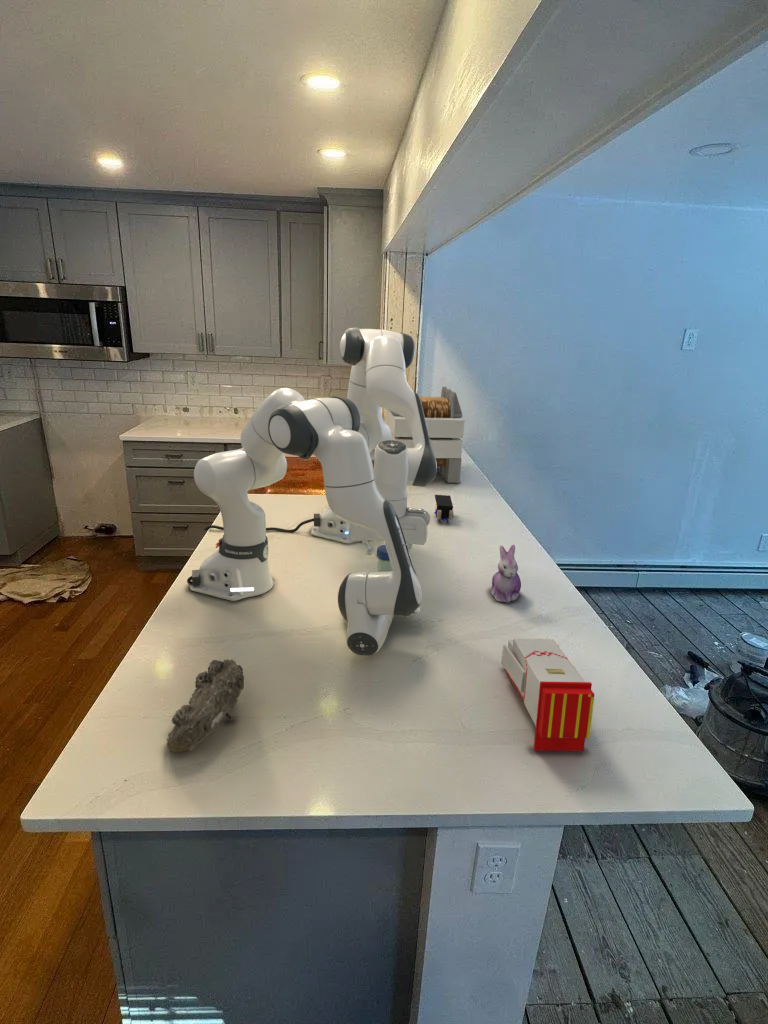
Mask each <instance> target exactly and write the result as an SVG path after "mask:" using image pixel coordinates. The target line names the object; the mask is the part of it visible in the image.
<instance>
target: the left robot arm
mask: <svg viewBox="0 0 768 1024" xmlns="http://www.w3.org/2000/svg"><path fill="white" fill-rule="evenodd" d="M359 428H360V414H359V411H358V409H357V407H356V405H355V404H354V403H353V402H352V401H351V400H349V399H347V397H344V396H328V397H317V398H310V399H305V398H304V396H303V395H302V394H301V393H299V391H297V390H295V389H293V388H289V387H281V388H277V389H275V390H274V391H273V392H271V393H270V394H269V395H268V396H267V397H266V398H265V399H264V400H262V402H261V403H260V404H259V406H257V408H256V410H255V411H254V412H253V413H252V415H251V417H250V418H249V420H248V421H247V423H246V424H245V426H244V427H243V429H242V431H241V432H240V446H241V448H237V449H232V450H227V451H220V452H215V453H213V454H210V455H207V456H205V457H203V458H201V459H199V460H198V461H197V462H196V464H195V466H194V470H193V479H194V483H195V485H196V487H197V489H198V490H199V491H200V492H201V493H202V494H203V495H205V496H207V497H208V498H210V499H211V500H212V501H214V503H215V504H216V505H217V507H218V509H219V512H220V514H221V519H222V527H223V528H224V530H223V535H222V537H221V538H220V539H218V542H216V543H215V548H216V549H217V548H218V550H216V551H215V552H213V553H212V554H211V555H210V556H208V557H207V558H205V559H204V560H203V562H201V564H200V566H199V569H192V570H191V575H190V576H188V578H187V579H186V583H187V584H188V585H189V589H190V591H193V592H195V593H196V592H197V593H200V594H204V595H208V596H212V597H216V598H220V599H223V600H228V601H231V602H237V601H240V600H243V599H245V598H246V599H247V598H251V597H257V596H260V595H263V594H265V593H267V592H269V591H270V590H271V589H272V588H273V586H274V580H273V578H272V574H271V571H270V565H269V559H268V558H269V541H268V540H269V539H268V536H267V531H266V528H267V526H266V525H267V523H266V522H267V521H266V520H267V519H266V512H265V510H264V509H263V507H262V506H261V505H259V504H257V503H255V502H253V501H250V499H249V495H248V493H249V491H253V490H258V489H261V488H265V487H268V486H271V485H273V484H275V483H277V482H279V481H281V480H282V479H284V478H285V476H286V475H287V470H288V462H287V461H288V460H287V458H286V456H285V455H291V456H296V457H298V458H300V459H303V460H309V459H310V458H311V457H312V456H314V457H316V458H317V459H318V461H319V463H320V465H321V469H322V479H323V485H324V493H325V498H326V502H327V505H328V508H330V509H331V511H332V512H333V513H334V514H335V515H336V516H338V517H339V518H340V519H342V520H344V521H346V522H348V523H351V524H354V525H358V526H361V527H364V528H367V529H369V530H371V531H373V532H375V533H377V534H378V535H379V536H380V537H381V538H382V539H383V541H382V542H384V545H385V546H386V549H387V552H388V556H389V559H390V562H391V565H392V569H393V571H390V572H378V571H361V572H360V571H357V572H349V573H348V574H346V576H345V577H344V578H343V580H342V581H341V583H340V585H339V587H338V591H337V604H338V609H339V612H340V615H341V616H342V618H343V619H344V621H345V622H346V623H347V631H346V635H345V636H346V637H345V642H346V646H347V648H348V649H349V651H351V652H352V653H353V654H355V655H356V656H362V657H370V656H374V655H375V654H377V653H378V652H379V651H380V650H381V648H382V647H383V645H384V643H385V642H386V640H387V636H388V634H389V630H390V627H391V625H392V621H393V619H394V616H399V617H415V616H418V615H419V614H420V611H421V606H422V599H423V598H422V597H423V596H422V595H423V593H422V586H421V583H420V581H419V578H418V575H417V573H416V570H415V568H414V565H413V562H412V559H411V555H410V551H409V552H408V547H407V544H406V541H405V538H404V535H403V531H402V528H401V525H400V522H399V519H398V516H397V513H396V511H395V509H394V507H393V505H392V504H391V503H390V502H388V501H386V500H384V498H383V497H382V496H381V494H380V493H379V491H378V489H377V486H376V482H375V476H374V469H373V464H372V459H371V455H370V452H369V448H368V445H367V442H366V440H365V438H364V436H363V435H362V434H360V433H359V432H358V431H359Z"/></svg>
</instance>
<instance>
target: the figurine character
mask: <svg viewBox="0 0 768 1024" xmlns="http://www.w3.org/2000/svg"><path fill="white" fill-rule="evenodd" d="M434 498H435V499H434V500H435V505H434V512H433V514H434V515H435V518H436V519H437V520H438V522H439V523H440V524H442V521H446V524H449V523H450V521H449V520H454V505H453V502H452V501H453V500H452V498H451V495H446V494H434Z"/></svg>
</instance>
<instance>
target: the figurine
mask: <svg viewBox="0 0 768 1024" xmlns="http://www.w3.org/2000/svg"><path fill="white" fill-rule="evenodd" d="M515 552H516V545H515V544H512V545H510V547H509V549H508V551H507V550H506V548H505V547H504V546H503V545H500V546H499V562H498V564H497V570H498V571H497V572H495V573H494V574H493V576H492V579H491V588H490V593H491V596H492V597H493V598H494V600H496V601H497V602H501V603H510V602H511V601H512V602H514V601H516V600H517V599H518V598H519V596H520V592H521V590H522V581H521V578H520V575H519V574H518V571H519V565H518V563H517V560H516V559H515Z"/></svg>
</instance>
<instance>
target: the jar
mask: <svg viewBox="0 0 768 1024" xmlns="http://www.w3.org/2000/svg"><path fill="white" fill-rule="evenodd" d="M390 571H393V569H392V565H391V562H390V560H382V559H380V558H378V557H377V572H390Z"/></svg>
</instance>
